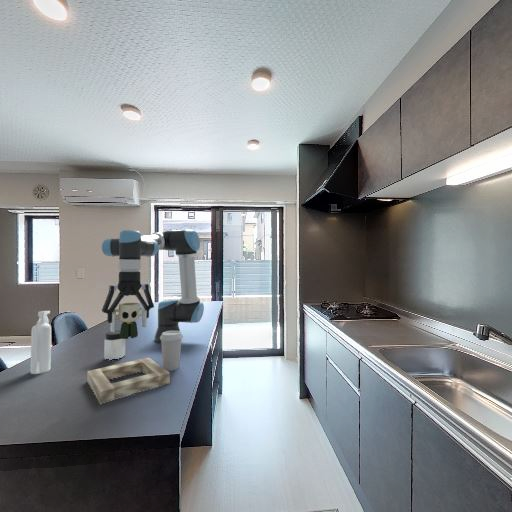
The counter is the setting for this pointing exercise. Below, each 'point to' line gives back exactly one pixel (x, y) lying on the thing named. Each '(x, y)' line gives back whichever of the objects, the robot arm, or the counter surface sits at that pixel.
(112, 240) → the robot arm
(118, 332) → the jar
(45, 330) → the white pump bottle
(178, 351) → the coffee cup
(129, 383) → the well block
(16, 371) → the counter surface
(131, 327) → the character mug
